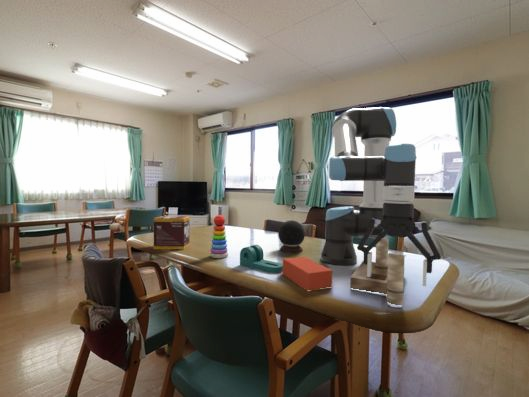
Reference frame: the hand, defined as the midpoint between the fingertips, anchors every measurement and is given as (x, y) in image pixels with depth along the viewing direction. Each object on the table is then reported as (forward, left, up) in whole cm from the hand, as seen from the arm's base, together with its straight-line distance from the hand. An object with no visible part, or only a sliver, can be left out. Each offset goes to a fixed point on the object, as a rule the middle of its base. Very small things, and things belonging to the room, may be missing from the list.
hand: (395, 280), depth 76 cm
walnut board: (-6, +16, -7) cm, 19 cm away
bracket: (-48, +11, -7) cm, 50 cm away
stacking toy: (-73, +15, -7) cm, 75 cm away
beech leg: (0, 0, -7) cm, 7 cm away
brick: (-28, +6, -8) cm, 30 cm away
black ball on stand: (-50, +43, -7) cm, 66 cm away
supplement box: (-105, +17, -7) cm, 107 cm away
